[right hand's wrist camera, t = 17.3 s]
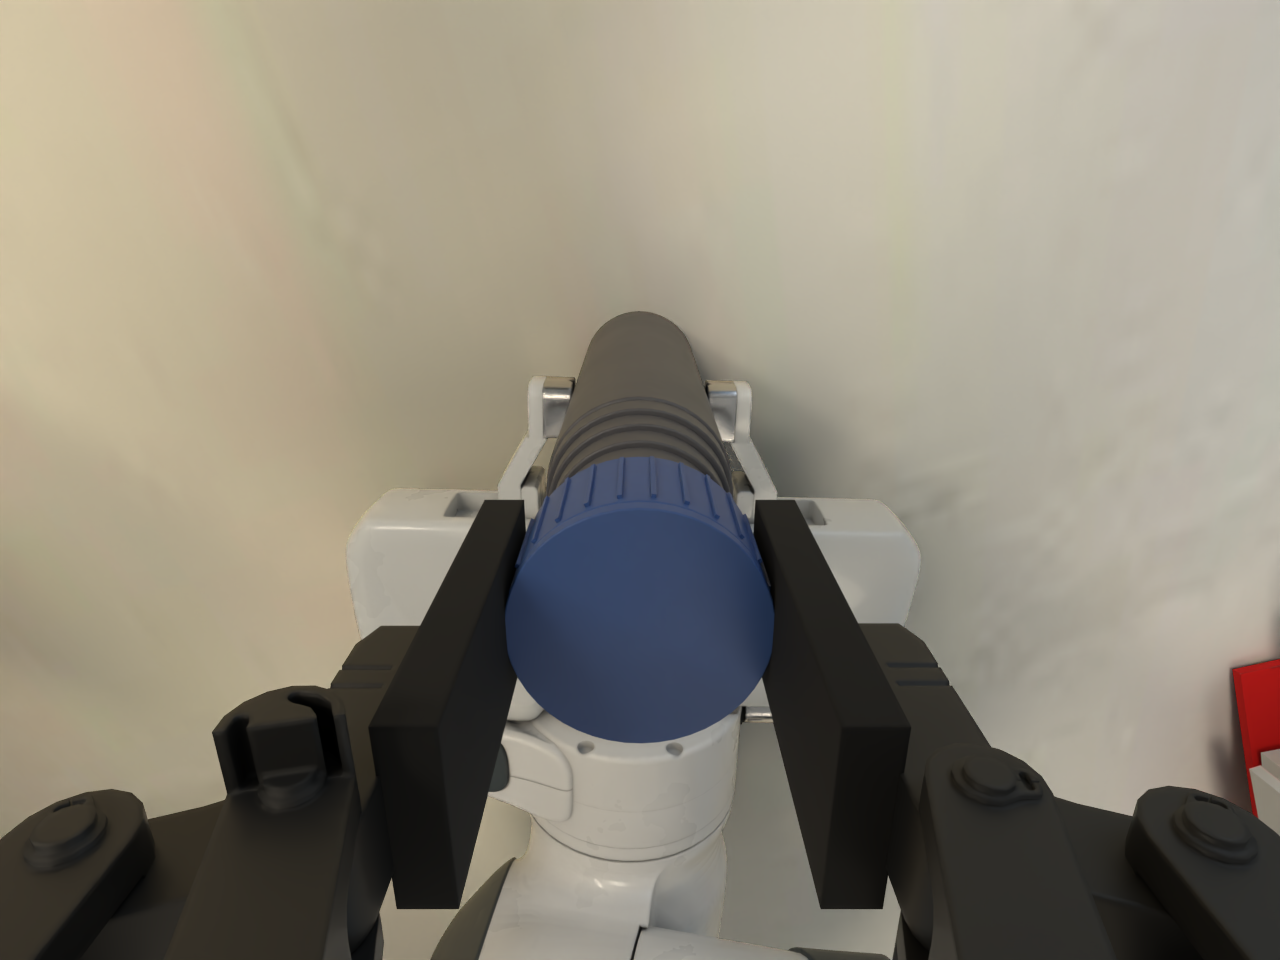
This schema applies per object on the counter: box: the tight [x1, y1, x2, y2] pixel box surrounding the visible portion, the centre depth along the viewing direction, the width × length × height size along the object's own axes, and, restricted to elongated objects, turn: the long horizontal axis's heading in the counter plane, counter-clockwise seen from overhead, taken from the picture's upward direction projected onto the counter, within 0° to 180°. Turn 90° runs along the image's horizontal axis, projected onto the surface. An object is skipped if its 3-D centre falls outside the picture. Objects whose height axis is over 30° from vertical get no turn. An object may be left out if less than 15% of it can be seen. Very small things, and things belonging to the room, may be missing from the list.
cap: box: [505, 456, 775, 743], centre depth 13 cm, size 5×5×2 cm
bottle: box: [546, 311, 733, 498], centre depth 22 cm, size 5×5×20 cm
